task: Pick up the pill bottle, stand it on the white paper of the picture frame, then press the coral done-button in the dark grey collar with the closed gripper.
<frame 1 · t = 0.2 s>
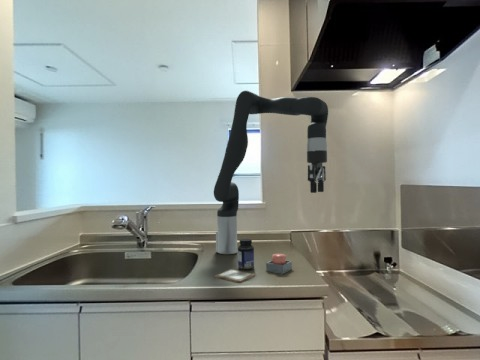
hand: (317, 192, 114), 29 cm above the counter, fingers open, 8 cm apart
done button: (279, 260, 110), point 3 cm above the counter, slide at 0.0 cm
button collar: (279, 270, 110), on the counter
pill bottle: (246, 269, 112), on the counter
picture frame: (235, 276, 103), on the counter
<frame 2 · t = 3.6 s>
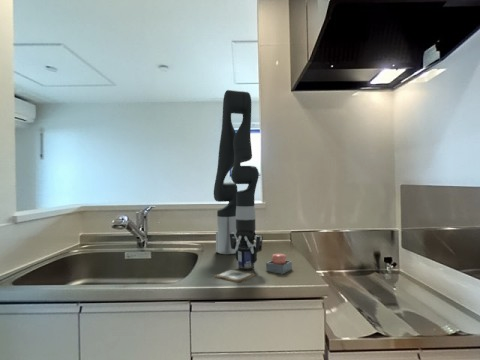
hand: (246, 261, 112), 3 cm above the counter, fingers closed on pill bottle, 6 cm apart
pill bottle: (246, 269, 112), on the counter, touching gripper
everything else where it was.
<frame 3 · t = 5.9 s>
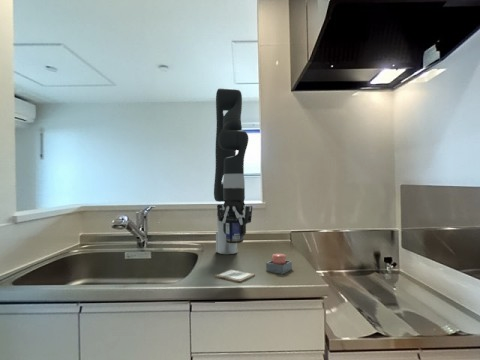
hand: (234, 234, 103), 15 cm above the counter, fingers closed on pill bottle, 6 cm apart
pill bottle: (234, 242, 103), point 12 cm above the counter, touching gripper
everything else where it was.
when the fingers open (5 cm above the counter, at t = 8.1 s): pill bottle drops 1 cm, resting on picture frame.
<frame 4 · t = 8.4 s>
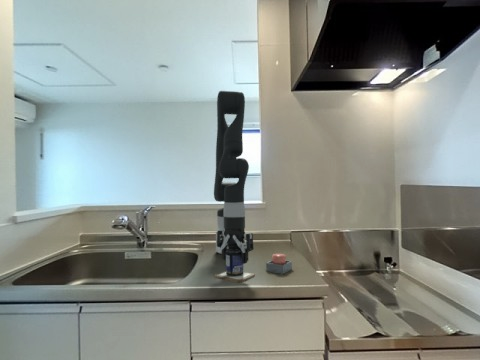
hand: (234, 261, 103), 5 cm above the counter, fingers open, 8 cm apart
pill bottle: (234, 274, 103), point 1 cm above the counter, touching picture frame
everything else where it was.
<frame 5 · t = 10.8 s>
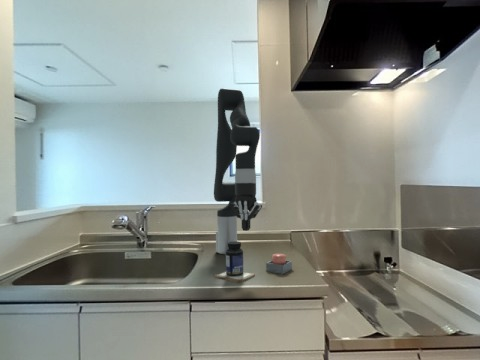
hand: (246, 230, 105), 16 cm above the counter, fingers closed
nothing on the counter moved.
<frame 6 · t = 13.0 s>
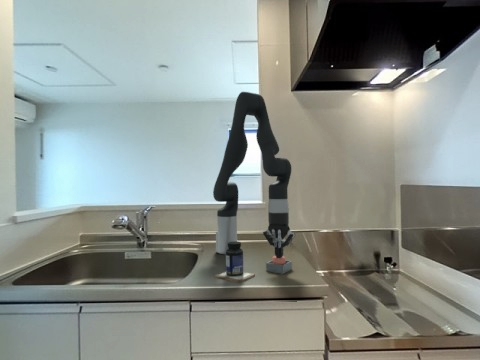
hand: (279, 257, 110), 5 cm above the counter, fingers closed
done button: (279, 262, 110), point 3 cm above the counter, slide at 0.8 cm, touching gripper
everything else where it was.
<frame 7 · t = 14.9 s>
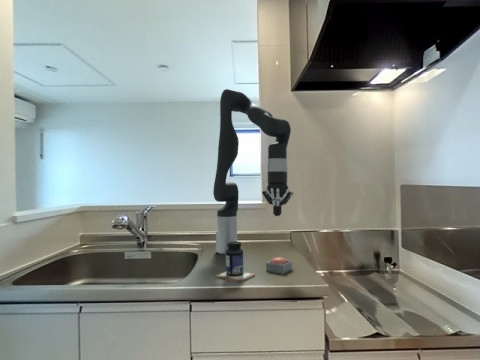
hand: (277, 215, 113), 20 cm above the counter, fingers closed
done button: (279, 264, 110), point 2 cm above the counter, slide at 1.4 cm
everything else where it was.
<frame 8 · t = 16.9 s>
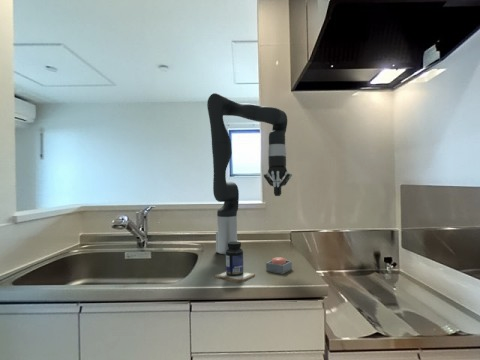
hand: (277, 195, 126), 27 cm above the counter, fingers closed
nothing on the counter moved.
at the end: pill bottle 0.2 cm from the picture frame (horizontally); pill bottle tilted 0°; done button slide at 1.4 cm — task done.
